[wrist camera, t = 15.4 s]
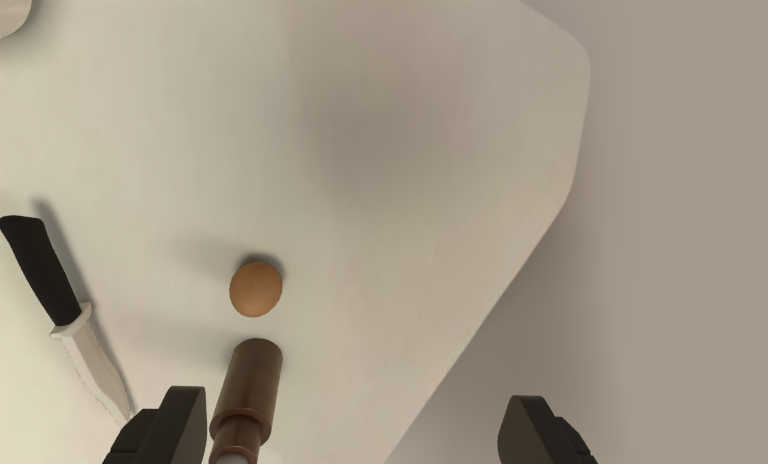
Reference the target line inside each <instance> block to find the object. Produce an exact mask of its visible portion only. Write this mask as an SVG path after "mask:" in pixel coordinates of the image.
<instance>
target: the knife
mask: <svg viewBox="0 0 768 464" xmlns="http://www.w3.org/2000/svg"><path fill="white" fill-rule="evenodd" d="M0 230H1V231H2V233H3V235H4V236H5V238H6V239H7V241H8V242H9V244H10V246H11V248H12V250H13V253H14V255H15V257H16V259H17V261H18V263H19V266H20V268H21V270H22V272H23V273H24V275H25V277H26V279H27V281H28V283H29V284H30V286H31V288H32V290H33V291H34V293H35V295H36V296H37V298H38V300H39V301H40V303H41V304H42V306H43V307H44V309H45V310H46V312H47V313H48V315H49V316H50V318H51V319H52V321H53V322H54V324H55V327H54V328H53V330H52V332H51V333H50V334H49V336H50V338H51V339H59V338H60V340H61V342H62V344H63V346H64V348H65V349H66V351H67V353H68V355H69V357H70V359H71V361H72V363H73V365H74V366H75V368H76V370H77V372H78V374H79V376H80V378H81V380H82V382H83V384H84V385H85V387H86V388H87V390H88V391H89V392H90V393H91V394H92V395H93V396H94V397H95V398H96V399H98V400H99V401H100V402H101V403H102V404H103V405H104V406H105V408H106V409H107V410H108V411H109V413H110V414H111V416H112V417H113V419H114V420H115V422H116V423H117V425H118V426H119V427H120V428H121V429H122V428H123V426H124V425H126V424H127V423H128V422H129V421H130V412H129V405H128V399H127V395H126V391H125V388H124V385H123V382H122V380H121V377H120V375H119V374H118V372H117V370H116V369H115V367H114V366H113V365H112V363H111V362H110V361H109V359H108V358H107V356H106V355H105V353H104V352H103V350H102V349H101V347H100V345H99V343H98V341H97V339H96V337H95V335H94V333H93V331H92V329H91V327H90V325H89V323H88V321H87V320H88V319H89V317H90V316H91V313H92V307H91V304H90V302H81V303H80V304H79V303H78V301H77V299H76V297H75V295H74V292H73V290H72V288H71V285H70V283H69V281H68V278H67V276H66V274H65V272H64V270H63V267H62V265H61V263H60V261H59V259H58V257H57V255H56V253H55V251H54V249H53V247H52V245H51V243H50V240H49V237H48V235H47V232H46V228H45V225H44V223H43V221H42V220H41V219H38V218H32V217H24V216H16V215H11V216H4V217H1V218H0Z"/></svg>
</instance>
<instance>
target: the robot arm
mask: <svg viewBox="0 0 768 464" xmlns="http://www.w3.org/2000/svg"><path fill="white" fill-rule="evenodd" d="M206 441H207V414H206V393H205V388H204V387H197V386H171V387H170V388H169V389H168V391H167V393H166V395H165V397H164V399H163V401H162V403H161V405H160V407H159V409H142V410H141V411H140V412H139V413H138V414H137V415H135V416H134V417H133V418H132V419H131V420H130V421H129V422H128V423H127V424H126V425H124V426H123V428H122V429H121V431H120V433H119V435H118V436H117V438H116V440H115V442H114V444H113V445H112V447H111V450H110V453H108V454H107V456H106V458H105V459H104V461H103V463H102V464H201V462H202V459H203V456H204V452H205V447H206ZM497 443H498V453H499V458H500V461H501V463H502V464H598V463H597V461H596V460H595V458H594V457H593V456H591V454H590V450H589V449H588V447H587V446H586V444H585V442H584V441H583V439H582V438H581V436H580V434H579V433H578V432H577V431H576V430H575V429H574V428H573V427H572V426H571V425H570V424H569V423H567V422H566V421H565V420H564V419H563V418H562V417H555V416H554V414H553V412H552V411H551V409H550V407H549V406H548V404H547V402H546V401H545V399H544V398H543V397H541V396H521V395H520V396H519V395H514V396H512V397H511V398H510V401H509V404H508V407H507V410H506V413H505V416H504V419H503V422H502V425H501V428H500V431H499V435H498V442H497Z"/></svg>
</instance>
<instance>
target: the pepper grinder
mask: <svg viewBox="0 0 768 464" xmlns="http://www.w3.org/2000/svg"><path fill="white" fill-rule="evenodd" d="M282 360H283V358H282V353H281V351H280V349H279V348H278V347H277V346H276V345H275V344H274V343H272V342H270V341H268V340H264V339H250V340H247V341H244V342H242V343H241V344H240V345H238V346H237V347H236V349H235V350H234V353H233V356H232V359H231V362H230V365H229V368H228V371H227V374H226V377H225V380H224V383H223V386H222V389H221V392H220V396H219V399H218V402H217V405H216V408H215V411H214V414H213V417H212V420H211V423H210V427H209V432H210V436H211V438H212V439H213V441H214V443H213V447H212V450H211V453H210V457H209V464H257V460H258V454H259V449H260V446H262V445H263V444H264V443H265V442H266V441H267V440H268V438H269V437H270V434H271V429H272V423H273V416H274V410H275V404H276V398H277V391H278V385H279V379H280V373H281V366H282Z"/></svg>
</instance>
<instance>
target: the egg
mask: <svg viewBox="0 0 768 464" xmlns="http://www.w3.org/2000/svg"><path fill="white" fill-rule="evenodd" d="M229 292H230V299H231V302H232V304H233V306H234V308H235V309H236V310H237V311H238V312H239V313H240V314H242V315H244V316H246V317H259V316H262V315H264V314H266V313H268V312H269V311H270V310H271V309H272V308H274V306H275V305H276V304H277V302H278V301H279V299H280V297H281V293H282V280H281V277H280V275H279V273H278V272H277V271H276V269H275V268H273V267H272V266H271V265H269V264H266V263H263V262H252V263H249V264H246V265H244V266H242V267H241V268H240V269H239V270H238V271H237V272H236V273H235V274H234V276H233V277H232V280H231V283H230V288H229Z"/></svg>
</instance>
